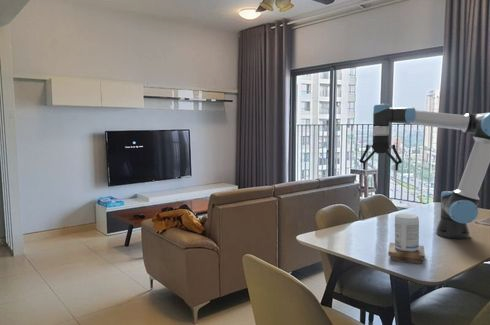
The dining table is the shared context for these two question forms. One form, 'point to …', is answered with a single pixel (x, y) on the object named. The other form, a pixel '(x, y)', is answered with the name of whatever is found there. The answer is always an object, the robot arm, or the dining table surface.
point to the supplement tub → (406, 232)
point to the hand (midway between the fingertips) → (380, 176)
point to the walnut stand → (406, 254)
